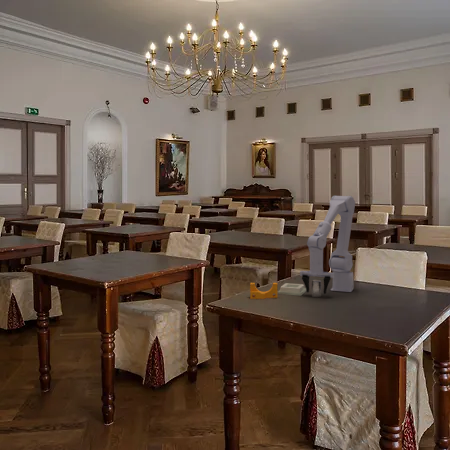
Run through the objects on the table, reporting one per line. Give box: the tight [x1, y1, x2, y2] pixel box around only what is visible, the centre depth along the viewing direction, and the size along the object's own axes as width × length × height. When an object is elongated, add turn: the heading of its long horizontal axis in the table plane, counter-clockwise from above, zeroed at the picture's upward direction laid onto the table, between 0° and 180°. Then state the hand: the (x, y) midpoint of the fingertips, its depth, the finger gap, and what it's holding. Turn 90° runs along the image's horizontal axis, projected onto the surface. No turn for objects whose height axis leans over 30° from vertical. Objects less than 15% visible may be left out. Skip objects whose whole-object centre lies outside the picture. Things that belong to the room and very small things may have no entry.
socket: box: [278, 282, 307, 297], centre depth 227 cm, size 11×11×3 cm
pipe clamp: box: [249, 282, 279, 300], centre depth 218 cm, size 12×4×6 cm, turn 86°
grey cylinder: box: [311, 279, 322, 298], centre depth 219 cm, size 4×4×7 cm
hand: (316, 292), depth 219 cm, fingers open, 7 cm apart
